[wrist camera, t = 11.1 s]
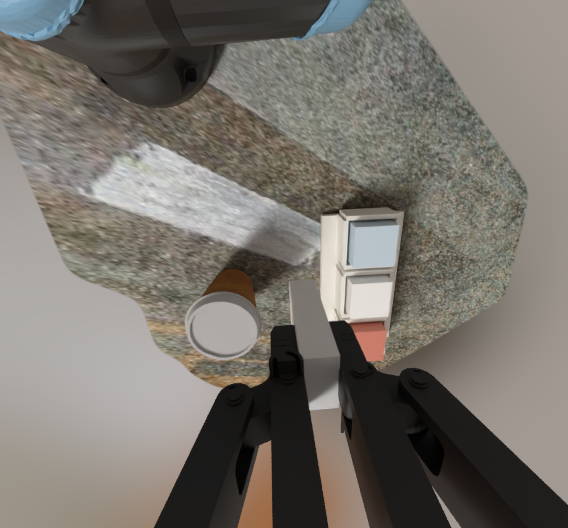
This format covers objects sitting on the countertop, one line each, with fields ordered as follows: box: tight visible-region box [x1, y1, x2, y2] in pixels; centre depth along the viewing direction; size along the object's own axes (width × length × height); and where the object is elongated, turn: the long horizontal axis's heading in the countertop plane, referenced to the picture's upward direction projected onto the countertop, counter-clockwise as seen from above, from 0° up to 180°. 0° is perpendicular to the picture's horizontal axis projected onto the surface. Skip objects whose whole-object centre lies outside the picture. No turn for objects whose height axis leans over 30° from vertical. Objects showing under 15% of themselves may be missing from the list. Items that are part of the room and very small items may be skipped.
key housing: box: [320, 207, 404, 354], centre depth 44 cm, size 24×12×5 cm, turn 2°
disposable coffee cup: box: [185, 269, 262, 360], centre depth 40 cm, size 10×10×12 cm
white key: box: [344, 274, 393, 319], centre depth 42 cm, size 6×6×4 cm
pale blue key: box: [347, 219, 400, 268], centre depth 39 cm, size 6×6×4 cm
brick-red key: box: [348, 321, 387, 361], centre depth 45 cm, size 6×6×4 cm
